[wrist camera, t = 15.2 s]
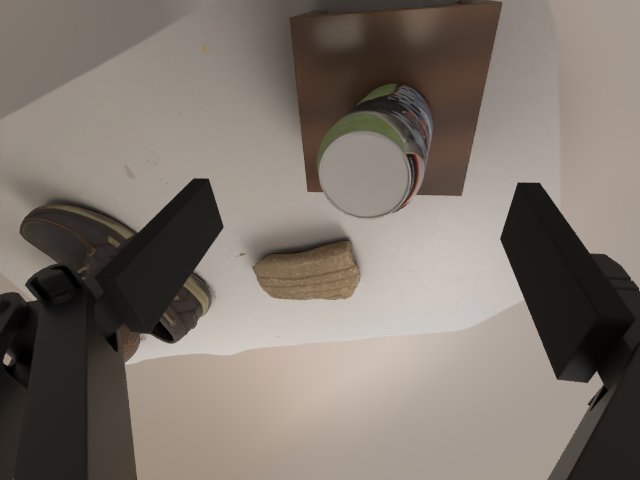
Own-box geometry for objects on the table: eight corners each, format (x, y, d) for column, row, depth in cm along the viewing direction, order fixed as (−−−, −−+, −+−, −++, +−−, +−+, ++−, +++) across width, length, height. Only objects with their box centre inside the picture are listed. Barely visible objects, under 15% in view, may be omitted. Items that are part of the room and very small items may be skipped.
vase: (130, 342, 72) (102, 379, 65) (107, 321, 68) (75, 358, 62) (152, 338, 69) (126, 377, 62) (130, 316, 66) (99, 355, 59)
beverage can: (414, 165, 28) (423, 253, 19) (331, 142, 29) (300, 218, 19) (446, 88, 25) (477, 152, 15) (350, 63, 25) (322, 110, 15)
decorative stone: (251, 252, 49) (242, 268, 47) (352, 235, 44) (349, 251, 41) (277, 298, 54) (271, 314, 52) (370, 287, 49) (369, 305, 47)
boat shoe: (47, 179, 48) (-27, 221, 39) (227, 280, 54) (196, 334, 46) (44, 227, 54) (-20, 271, 46) (205, 312, 60) (174, 365, 52)
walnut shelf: (311, 10, 30) (289, 17, 24) (478, -2, 27) (502, 2, 21) (321, 158, 38) (307, 191, 32) (450, 159, 36) (461, 196, 29)
